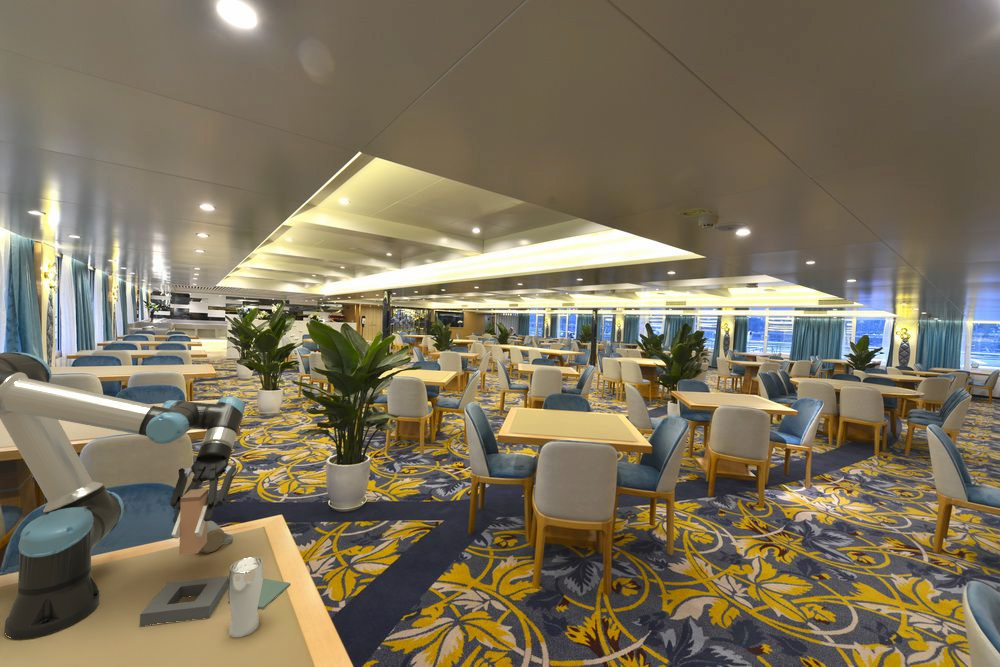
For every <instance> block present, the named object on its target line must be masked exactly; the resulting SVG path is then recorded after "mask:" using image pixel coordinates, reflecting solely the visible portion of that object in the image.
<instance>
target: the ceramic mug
mask: <svg viewBox="0 0 1000 667" xmlns="http://www.w3.org/2000/svg"><path fill="white" fill-rule="evenodd" d="M233 539H234V536H233V535H232V534H229V533H226V532H224V530H223V529H222V527H220V526H219V525H218V524H217V523H216V522H215V521H212V520H210V521H208V522H207V543H206V544H205V545H204V546H203V548H202V549H201V550H200V551H199V552H202V553H205V554H210V552H211V553H213V552H215V551H217V550H218V549H220V547H221V546H222V545H223V544H225V545H226V544H231V543H232V541H233Z"/></svg>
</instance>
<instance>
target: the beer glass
mask: <svg viewBox="0 0 1000 667" xmlns="http://www.w3.org/2000/svg"><path fill="white" fill-rule="evenodd" d="M263 564H264V562H263V559H262V558H261V557H257V556H250V557H245V558H241V559H238V560H237V561H235V562H234V563H232V564H231V565H230V567H229V574H228V576H229V580H228V588H227V596H228V597H227V598H228V602H229V603H228V604H229V607H230V616H231V618H230V623H229V627H228V635H229V637H231V638H237V639H238V638H243V637H246V636H249V635H250V634H252V633H253V632H255V631H256V630H257V629H258V628H259V626H260V620H259V614H258V610H259V609H258V604H259V599H260V595H261V590H262V584H263V579H264V567H263Z"/></svg>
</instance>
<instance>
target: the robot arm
mask: <svg viewBox="0 0 1000 667" xmlns="http://www.w3.org/2000/svg"><path fill="white" fill-rule="evenodd" d="M51 380H52V370H51V368H50V365H49V364H48V363H47V362H46V361H45V360H43V359H42V358H41V357H39V356H37V355H34V354H32V353H31V354H30V353H26V352H17V351H5V352H0V421H1V423H2V425H3V426H4V428H5V431H7V433H8V435H9V437H10V438H11V440H12V442H13V444H14V445H15V447H16V449H17V450H18V452H19V453H20V456H21V458H22V459H23V461H24V462H25V464H26V465H27V467H28V469H29V471H30V473H31V474H32V476H33V478H34V480H35V481H36V482H37V484H38V487H39V488H40V490H41V491H42V494H43V495H44V497H45V498H46V500H47V503H46V505H45V507H44V508H43V510H42V511H43V513H44V514H43V515H40V516H38V517H36V518H35V519H33V520H31V521H30V522H29V523H27V525H25V526H24V528H22V531H21V533H20V539H19V542H18V547H17V548H18V578H17V579H18V586H17V588H18V590H17V595H16V598H15V600H14V602H13V604H12V607H11V609H10V611H9V614H8V615H7V617H6V620H5V623H4V634H5V633H6V635H7V636H9V637H11V638H13V639H12V640H29V639H34V638H40V637H43V636H47V635H50V634H54V633H55V632H59V631H62V630H64V629H66V628H68V627H70V626H73V625H75V624H77V623H78V622H80V621H82V620H83V619H86V617H88V616H89V615H91V614H92V613H93V612H94V611H96V609H97V607H98V606H99V604H100V596H101V595H100V589H99V588H98V586H97V584H96V582H95V580H94V578H93V575H92V574H91V573H92V572H91V570H92V569H91V568H92V567H91V566H92V551H93V549H94V548H95V547H96V546H97V545H98V544H100V542H101V541H102V540H103V539H104V538H105V537H107V536H108V535H109V534H110V533H111V532H112V531H113V530H114V529H115V528H116V527H117V526H118V524H119V522H120V520H121V519H122V517H123V515H124V512H125V511H124V510H125V509H124V507H125V506H124V505H125V504H124V502H123V499H122V498H121V497H120V495H119V494H117V493H116V492H113V491H109V490H107V488H106V486H105V485H104V483H102V482H97V481H93V479H92V478H91V476H90V474H89V472H88V471H87V469H86V467H85V465H84V464H83V461H82V460H81V458H80V456H79V455H78V452H77V451H76V450H75V447H74V446H73V444H72V442H71V440H70V438H69V436H68V435H67V433H66V431H65V429H64V428H63V426H62V423H61V422H60V421H65V422H69V423H75V424H79V425H80V424H81V425H85V426H89V427H90V426H91V427H95V428H101V429H107V430H111V431H117V432H123V433H128V434H133V435H138V436H145V437H147V438H148V439H149V440H150V441H151V442H152V443H154V444H155V443H156V444H159V445H165V444H166V445H167V444H169V443H170V444H171V443H173V442H175V441H177V440H179V439H181V438H182V437H184V436H185V435H186V433H187V432H188V431H190V430H192V429H193V430H204V431H205V430H206V432H205V435H204V438H203V440H202V442H201V446H200V448H199V450H198V453H197V456H196V460H195V462H194V463H193V464H192V465H191V466H190V467H188V468H183V467H182V468H181V467H180V468H179V469H178V479H177V482H176V485H175V487H174V490H173V493H172V496H171V499H170V503H169V505H170V506H171V507H172V509H174V510H175V513H174V516H173V517H172V522H173V523H174V527H173V530H172V532H171V536H172V537H173V538H174V539H176V540H177V539H180V508H181V497H183V496H184V495H185V494H186V493H187V492H188V491H189V490H193V489H200V488H199V487H200V486H202V484H203V482H207V481H208V482H209V484H208V502H207V504H208V506H203V509H202V512H201V515H200V518H199V521H198V524H197V527H196V530H195V534H196V535H197V536H198V537H201V536H202V533H203V530H204V527H205V524H206V521H212V519H213V518H212V517H213V514H214V510H215V509H216V508H217V507H223V506H224V505H225V503H226V500H227V497H228V494H229V491H230V489H231V486H232V482H233V480H234V478H235V477H236V475H237V474H238V473H239V472H238V468H237V466H235V465H233V466H230V465H229V461H230V457H231V454H232V452H233V450H232V449H233V448H234V445H235V441H236V438H237V436H238V432H239V429H240V426H241V424H242V420H243V418H244V412H245V409H246V404H245V402H244V401H243V400H242V399H240V398H238V397H236V396H227V397H225V396H223V397H221V398H219V399H218V401H217V402H216V403H205V402H196V401H186V400H182V399H181V400H180V399H179V400H166V401H165V402H164V403H163V404H162V405H161V406H157V405H153V404H149V403H144V402H139V401H135V400H131V399H126V398H125V399H124V398H120V397H116V396H113V395H112V396H111V395H106V394H101V393H98V392H93V391H88V390H83V389H79V388H74V387H70V386H64V385H60V384H55V383H50V382H51ZM191 473H193V477H192V478H191V481H190V484H189V485H188V487H187V484H188V478H190V476H191ZM224 473H225V475H224V478H223V482H222V485H221V488H220V490H219V493H218V486H219V485H218V484H219V478H220V477H221V476H222V475H223V474H224ZM186 487H187V488H186ZM185 489H186V490H185ZM6 635H5V636H6ZM11 638H10V639H11Z"/></svg>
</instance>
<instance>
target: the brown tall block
mask: <svg viewBox="0 0 1000 667" xmlns="http://www.w3.org/2000/svg"><path fill="white" fill-rule="evenodd" d="M183 495H184V494H183ZM183 495H182V497H181V508H180V537H179V547H178V550H179V552H178V553H179V555H180V556H181V555H189V554H198V553H200V552H201V551H200V550H201V549H202V548H203V546H204V545H205V544H206V543H207V522H208V521H206V524H205V527H204V530H203V533H202V536H201V537H198V536H197V535H196V534H195V530H196V527H197V524H198V521H199V518H200V515H201V512H202V509H203V506H208V504H207V502H208V495H209V488H198V489H193V490H189V491H188V492H187V493H186V494H185V495H184V496H183Z"/></svg>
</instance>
